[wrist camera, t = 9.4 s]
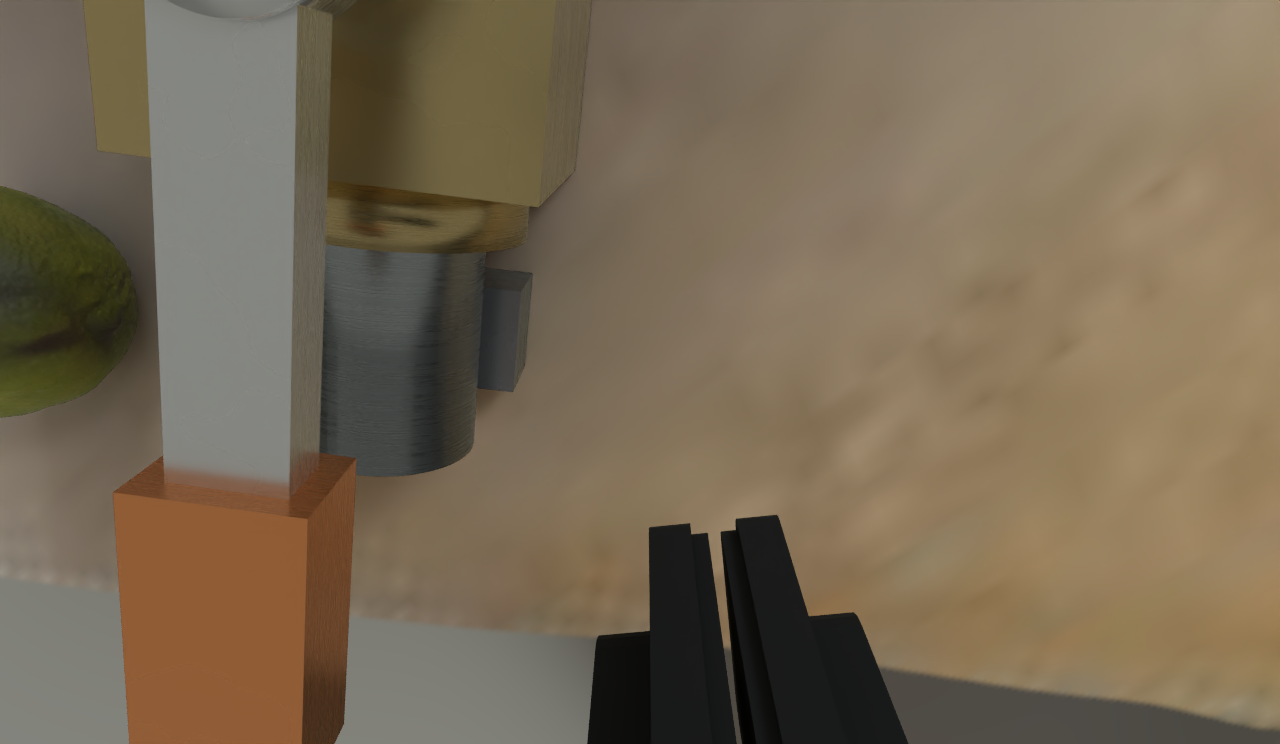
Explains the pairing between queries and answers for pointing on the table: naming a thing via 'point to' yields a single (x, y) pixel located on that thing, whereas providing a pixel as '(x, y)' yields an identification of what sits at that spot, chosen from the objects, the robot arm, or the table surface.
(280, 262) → the valve handle
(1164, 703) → the table surface
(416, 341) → the pipe valve
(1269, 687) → the table surface
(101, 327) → the lime
